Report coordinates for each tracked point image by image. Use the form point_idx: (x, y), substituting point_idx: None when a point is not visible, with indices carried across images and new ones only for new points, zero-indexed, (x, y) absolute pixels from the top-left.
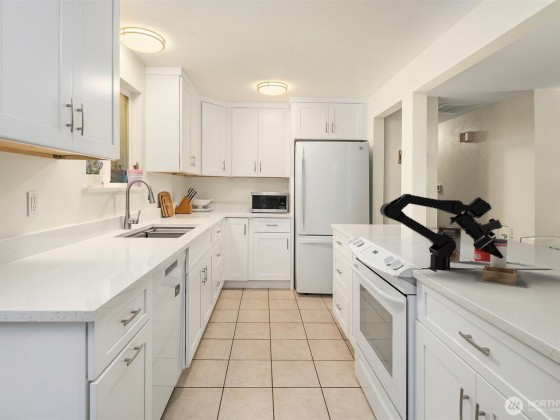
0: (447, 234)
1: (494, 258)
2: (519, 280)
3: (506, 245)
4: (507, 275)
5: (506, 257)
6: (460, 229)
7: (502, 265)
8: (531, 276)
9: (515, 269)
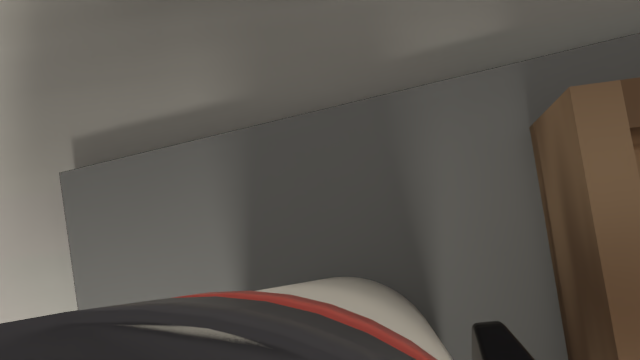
0: None
1: None
2: None
3: (318, 306)
4: None
5: (303, 283)
6: None
7: (427, 323)
8: (101, 50)
9: (584, 106)
